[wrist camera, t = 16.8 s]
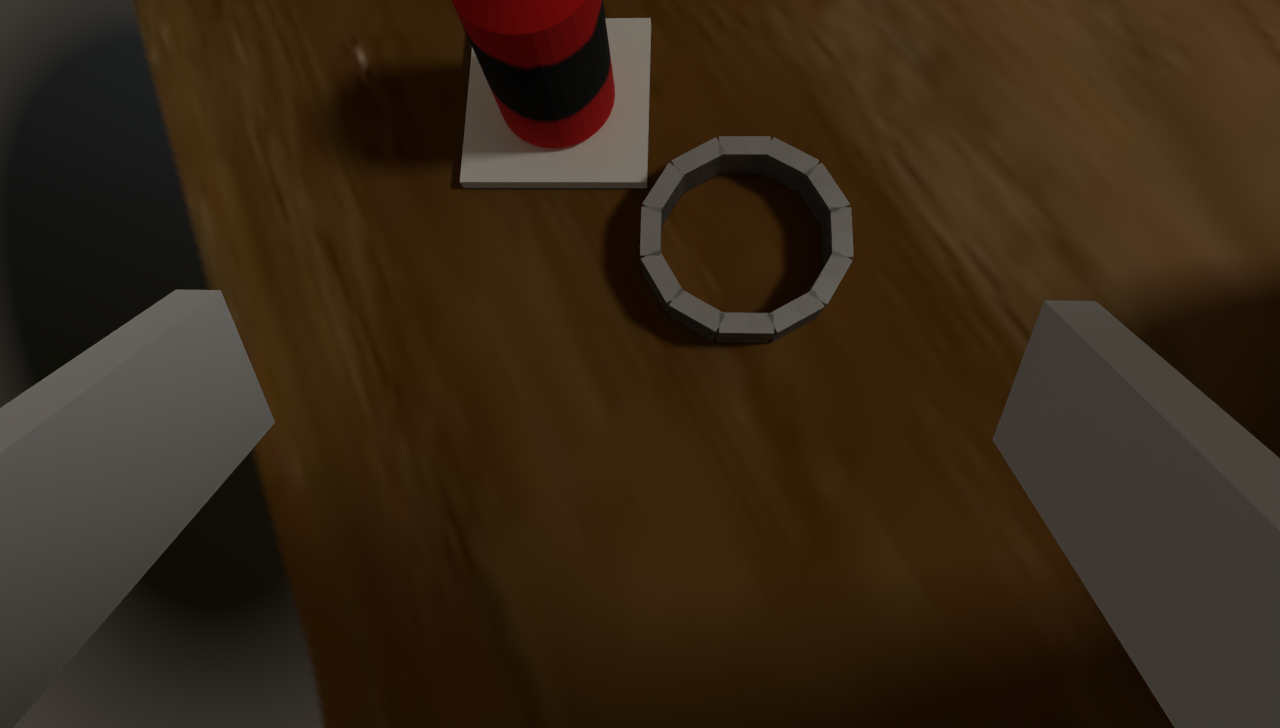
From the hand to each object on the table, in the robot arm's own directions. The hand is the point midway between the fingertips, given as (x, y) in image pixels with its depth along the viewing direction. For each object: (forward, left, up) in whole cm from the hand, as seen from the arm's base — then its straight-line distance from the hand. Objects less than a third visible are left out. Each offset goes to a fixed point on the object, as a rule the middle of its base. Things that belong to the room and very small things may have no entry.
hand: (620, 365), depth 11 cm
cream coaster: (+7, -23, -27) cm, 37 cm away
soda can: (+7, -23, -27) cm, 36 cm away
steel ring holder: (-5, -13, -27) cm, 31 cm away
